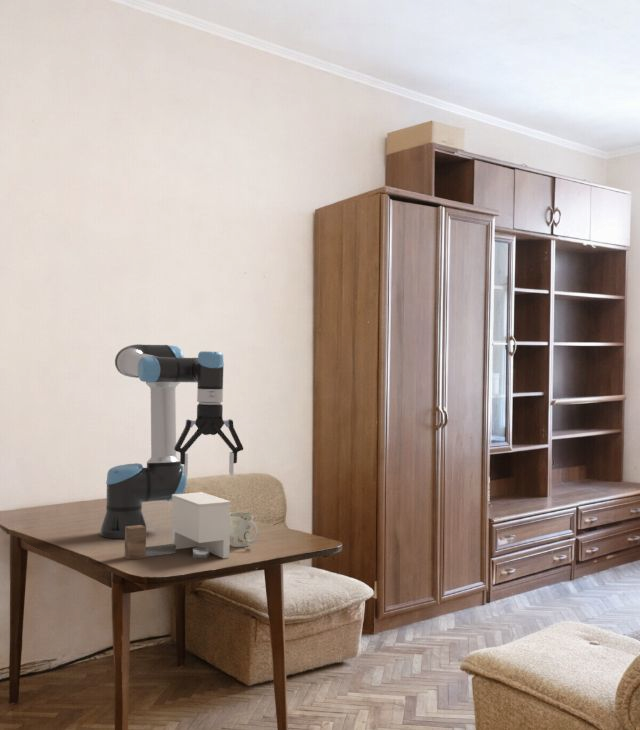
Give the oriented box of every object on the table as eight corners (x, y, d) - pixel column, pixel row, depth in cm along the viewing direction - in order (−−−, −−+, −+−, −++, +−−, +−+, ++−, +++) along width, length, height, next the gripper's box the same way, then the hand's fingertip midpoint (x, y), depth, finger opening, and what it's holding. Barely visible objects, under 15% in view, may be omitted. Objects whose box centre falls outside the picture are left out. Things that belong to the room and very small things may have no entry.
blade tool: (124, 556, 235) (125, 526, 235) (171, 550, 243) (172, 521, 243) (129, 559, 231) (129, 529, 231) (176, 553, 240) (177, 524, 240)
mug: (239, 541, 258) (240, 510, 258) (267, 547, 250) (268, 515, 250) (221, 545, 252) (221, 514, 252) (249, 551, 244) (250, 519, 244)
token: (189, 555, 238) (190, 548, 238) (205, 554, 240) (205, 546, 240) (196, 559, 233) (197, 551, 233) (212, 557, 236) (212, 549, 236)
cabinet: (171, 548, 247) (171, 494, 247) (201, 544, 252) (202, 492, 253) (198, 561, 230) (199, 504, 230) (230, 557, 235) (231, 501, 236)
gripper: (168, 403, 226) (167, 477, 226) (253, 404, 233) (252, 475, 233) (165, 402, 233) (164, 474, 233) (248, 402, 240) (247, 472, 240)
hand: (208, 475), depth 233 cm, fingers open, 13 cm apart
